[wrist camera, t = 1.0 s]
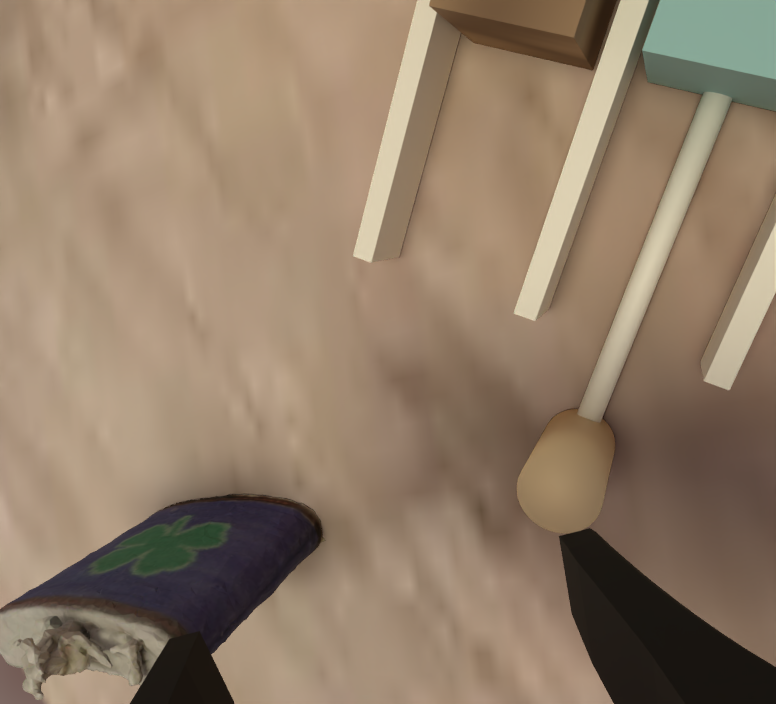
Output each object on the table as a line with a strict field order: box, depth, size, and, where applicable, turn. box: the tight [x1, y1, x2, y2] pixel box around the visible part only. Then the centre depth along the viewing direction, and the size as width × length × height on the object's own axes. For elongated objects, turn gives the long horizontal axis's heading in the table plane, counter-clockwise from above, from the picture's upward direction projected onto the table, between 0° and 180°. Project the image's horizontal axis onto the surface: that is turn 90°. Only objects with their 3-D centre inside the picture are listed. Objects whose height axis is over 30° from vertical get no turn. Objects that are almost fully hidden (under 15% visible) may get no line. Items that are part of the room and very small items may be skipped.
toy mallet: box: [517, 0, 776, 533], centre depth 19 cm, size 4×17×4 cm, turn 164°
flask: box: [0, 494, 325, 700], centre depth 25 cm, size 9×3×11 cm, turn 102°
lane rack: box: [353, 0, 776, 390], centre depth 19 cm, size 12×14×2 cm
